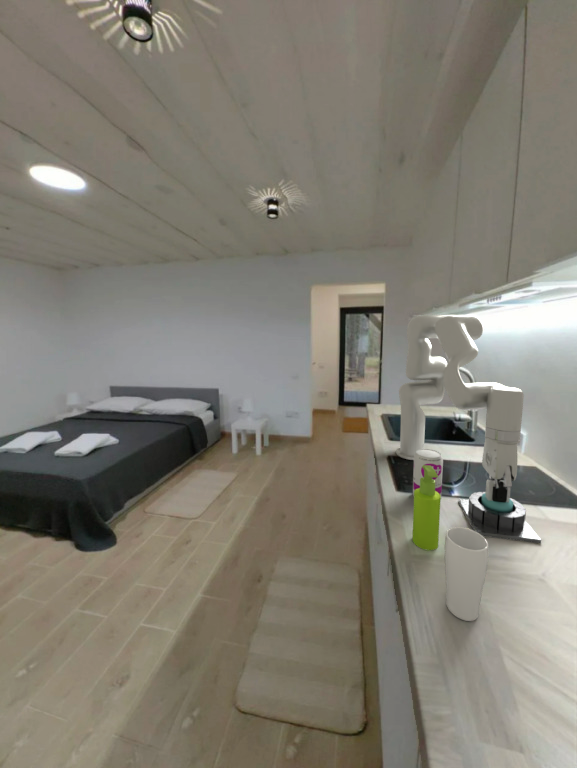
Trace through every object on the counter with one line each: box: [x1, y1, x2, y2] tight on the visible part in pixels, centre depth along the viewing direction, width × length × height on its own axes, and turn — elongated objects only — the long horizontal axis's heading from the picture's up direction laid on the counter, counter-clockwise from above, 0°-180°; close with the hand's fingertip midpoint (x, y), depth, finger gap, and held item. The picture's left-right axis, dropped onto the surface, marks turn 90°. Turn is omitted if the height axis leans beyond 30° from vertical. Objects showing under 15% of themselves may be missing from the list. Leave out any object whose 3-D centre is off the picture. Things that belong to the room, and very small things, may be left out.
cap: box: [481, 479, 513, 513], centre depth 81 cm, size 7×7×7 cm
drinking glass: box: [444, 526, 489, 622], centre depth 55 cm, size 7×7×15 cm
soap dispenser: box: [412, 465, 442, 551], centre depth 73 cm, size 6×7×20 cm
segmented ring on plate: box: [458, 491, 542, 544], centre depth 82 cm, size 16×14×5 cm
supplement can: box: [412, 448, 444, 497], centre depth 94 cm, size 8×8×15 cm
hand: (497, 498), depth 81 cm, fingers closed on cap
